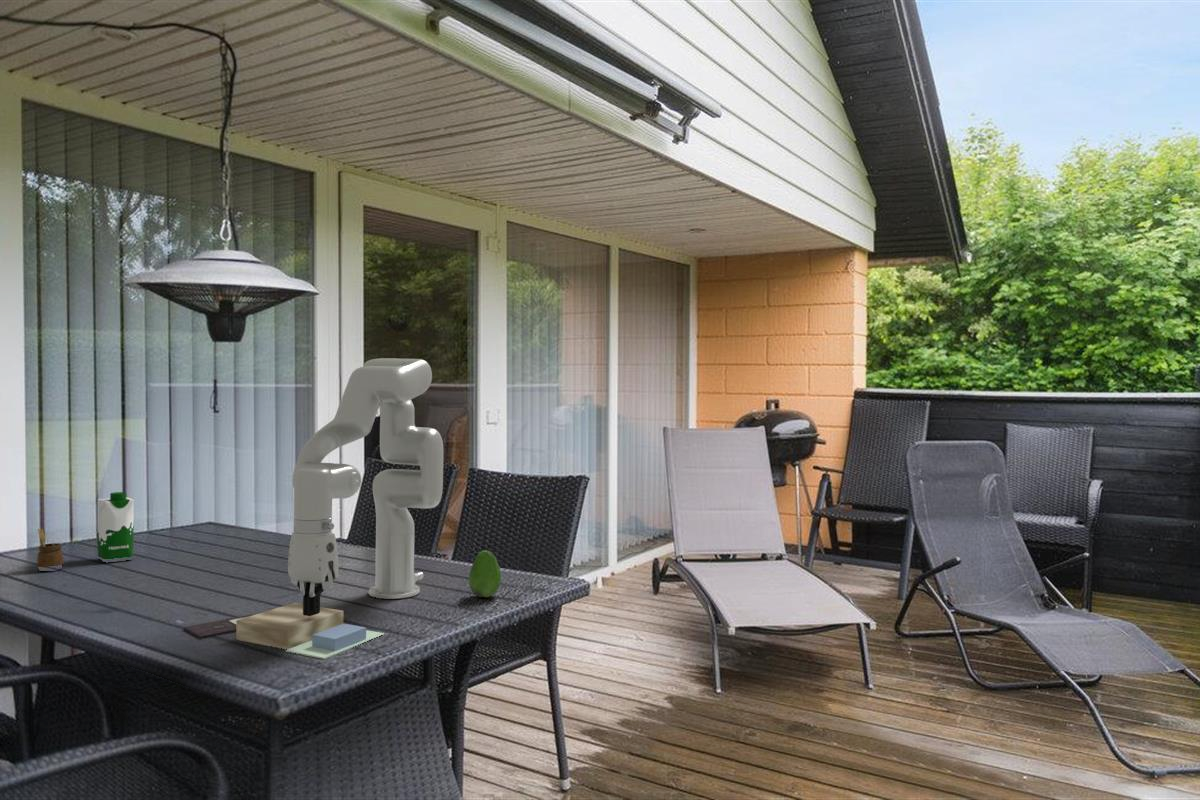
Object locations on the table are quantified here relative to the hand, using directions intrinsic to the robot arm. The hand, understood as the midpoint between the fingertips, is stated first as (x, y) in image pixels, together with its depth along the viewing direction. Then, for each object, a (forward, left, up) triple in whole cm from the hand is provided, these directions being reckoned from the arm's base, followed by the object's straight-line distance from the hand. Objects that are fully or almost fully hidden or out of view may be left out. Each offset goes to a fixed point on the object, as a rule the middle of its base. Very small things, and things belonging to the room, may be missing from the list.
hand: (311, 614), depth 174 cm
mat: (0, +7, -5) cm, 9 cm away
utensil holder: (-13, -107, -5) cm, 108 cm away
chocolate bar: (+1, -21, -6) cm, 22 cm away
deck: (0, -6, -5) cm, 8 cm away
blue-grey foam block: (0, +8, -2) cm, 8 cm away
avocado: (-46, +13, -5) cm, 48 cm away
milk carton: (-30, -104, -5) cm, 108 cm away
